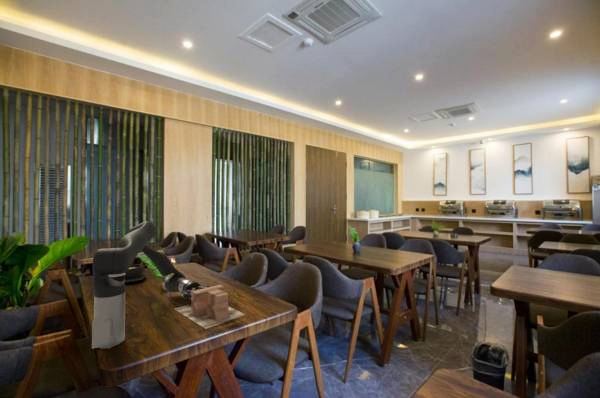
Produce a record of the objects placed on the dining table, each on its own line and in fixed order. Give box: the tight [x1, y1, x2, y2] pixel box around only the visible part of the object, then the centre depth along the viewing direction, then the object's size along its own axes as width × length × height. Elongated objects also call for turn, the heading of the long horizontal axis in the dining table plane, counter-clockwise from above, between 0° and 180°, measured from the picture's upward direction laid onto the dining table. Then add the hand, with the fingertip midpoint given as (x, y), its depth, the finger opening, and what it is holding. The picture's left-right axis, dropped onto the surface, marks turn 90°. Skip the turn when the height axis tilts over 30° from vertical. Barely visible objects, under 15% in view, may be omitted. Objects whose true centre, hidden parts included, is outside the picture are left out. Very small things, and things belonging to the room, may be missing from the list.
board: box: [174, 304, 246, 330], centre depth 126 cm, size 29×19×1 cm, turn 47°
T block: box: [190, 284, 229, 321], centre depth 123 cm, size 14×14×10 cm
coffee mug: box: [108, 273, 125, 284], centre depth 153 cm, size 12×9×10 cm
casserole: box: [124, 263, 147, 283], centre depth 178 cm, size 25×19×8 cm
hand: (206, 295), depth 128 cm, fingers open, 8 cm apart
